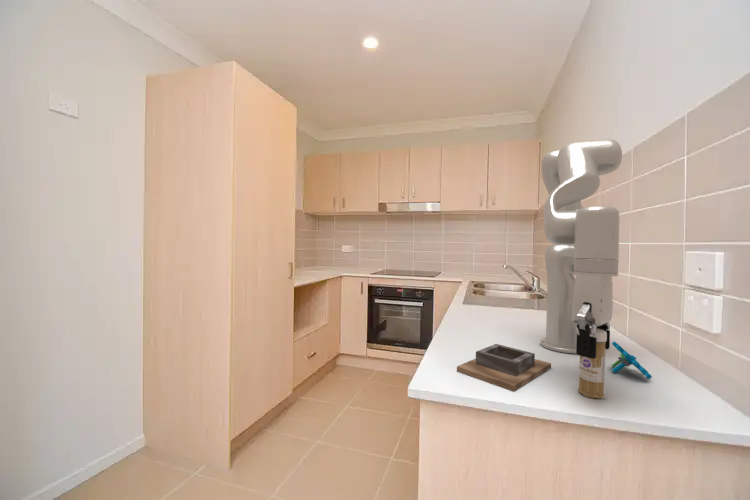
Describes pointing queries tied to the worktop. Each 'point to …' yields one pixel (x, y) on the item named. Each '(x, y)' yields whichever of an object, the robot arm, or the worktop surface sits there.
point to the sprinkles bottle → (593, 369)
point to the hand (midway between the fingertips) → (593, 352)
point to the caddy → (504, 366)
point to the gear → (627, 361)
